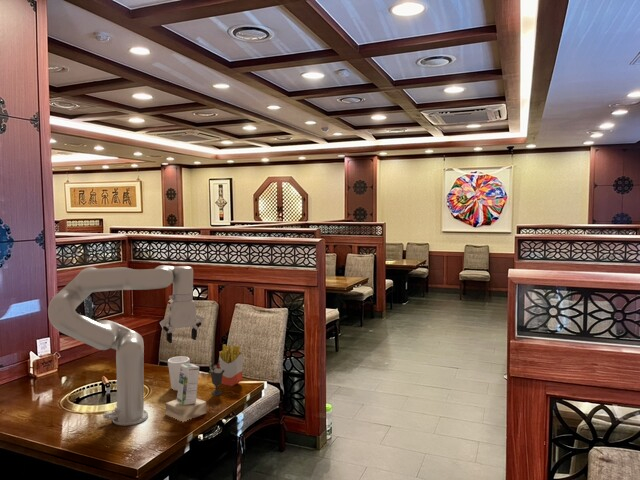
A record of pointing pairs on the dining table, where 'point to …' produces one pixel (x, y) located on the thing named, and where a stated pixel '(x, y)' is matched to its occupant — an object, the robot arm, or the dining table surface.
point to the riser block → (185, 410)
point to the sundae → (217, 377)
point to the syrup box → (187, 384)
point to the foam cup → (176, 369)
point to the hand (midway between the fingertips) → (181, 340)
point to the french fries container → (231, 364)
